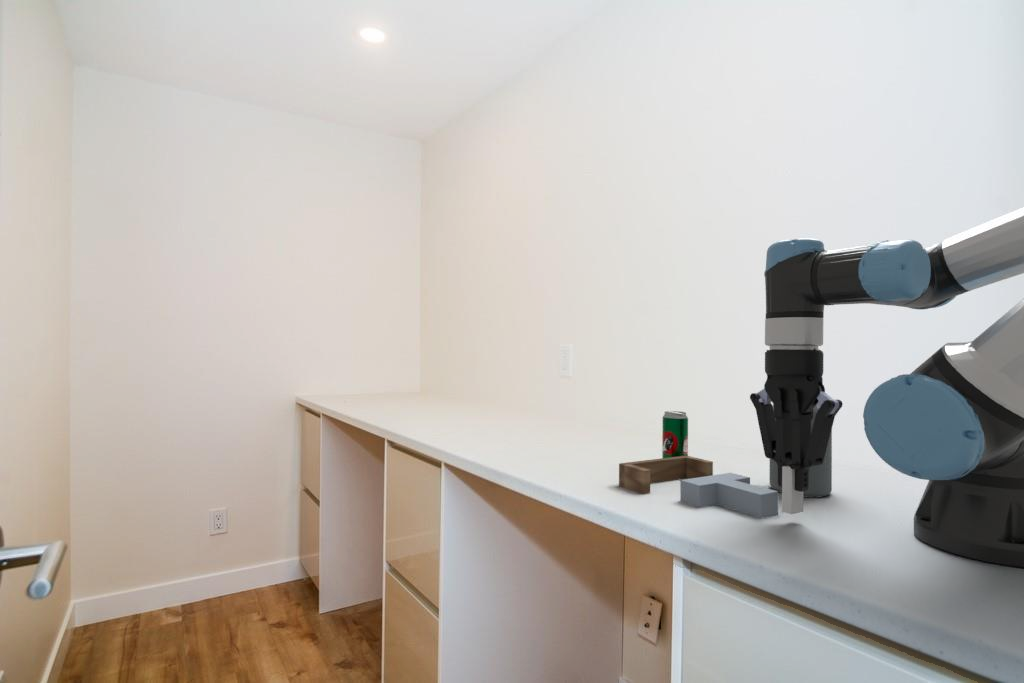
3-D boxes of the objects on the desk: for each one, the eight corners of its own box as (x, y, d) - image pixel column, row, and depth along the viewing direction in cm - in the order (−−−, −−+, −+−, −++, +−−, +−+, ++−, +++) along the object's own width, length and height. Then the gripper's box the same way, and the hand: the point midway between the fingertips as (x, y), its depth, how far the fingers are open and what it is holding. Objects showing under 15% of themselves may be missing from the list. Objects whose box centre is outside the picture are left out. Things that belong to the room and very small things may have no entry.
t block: (742, 522, 78) (742, 498, 78) (680, 501, 89) (680, 480, 89) (794, 510, 84) (794, 488, 84) (730, 492, 94) (730, 472, 94)
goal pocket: (712, 483, 101) (712, 461, 101) (643, 493, 93) (643, 470, 93) (686, 475, 107) (686, 455, 107) (619, 485, 98) (619, 463, 99)
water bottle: (835, 501, 89) (835, 332, 89) (769, 494, 93) (770, 332, 94) (828, 487, 98) (828, 334, 99) (769, 481, 102) (769, 334, 103)
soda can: (689, 473, 108) (689, 414, 108) (663, 472, 109) (663, 413, 109) (686, 468, 113) (686, 411, 113) (661, 467, 114) (661, 410, 114)
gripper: (855, 348, 74) (854, 521, 74) (769, 348, 86) (769, 497, 85) (822, 348, 70) (821, 529, 70) (737, 347, 82) (736, 503, 82)
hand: (792, 511), depth 78 cm, fingers closed
